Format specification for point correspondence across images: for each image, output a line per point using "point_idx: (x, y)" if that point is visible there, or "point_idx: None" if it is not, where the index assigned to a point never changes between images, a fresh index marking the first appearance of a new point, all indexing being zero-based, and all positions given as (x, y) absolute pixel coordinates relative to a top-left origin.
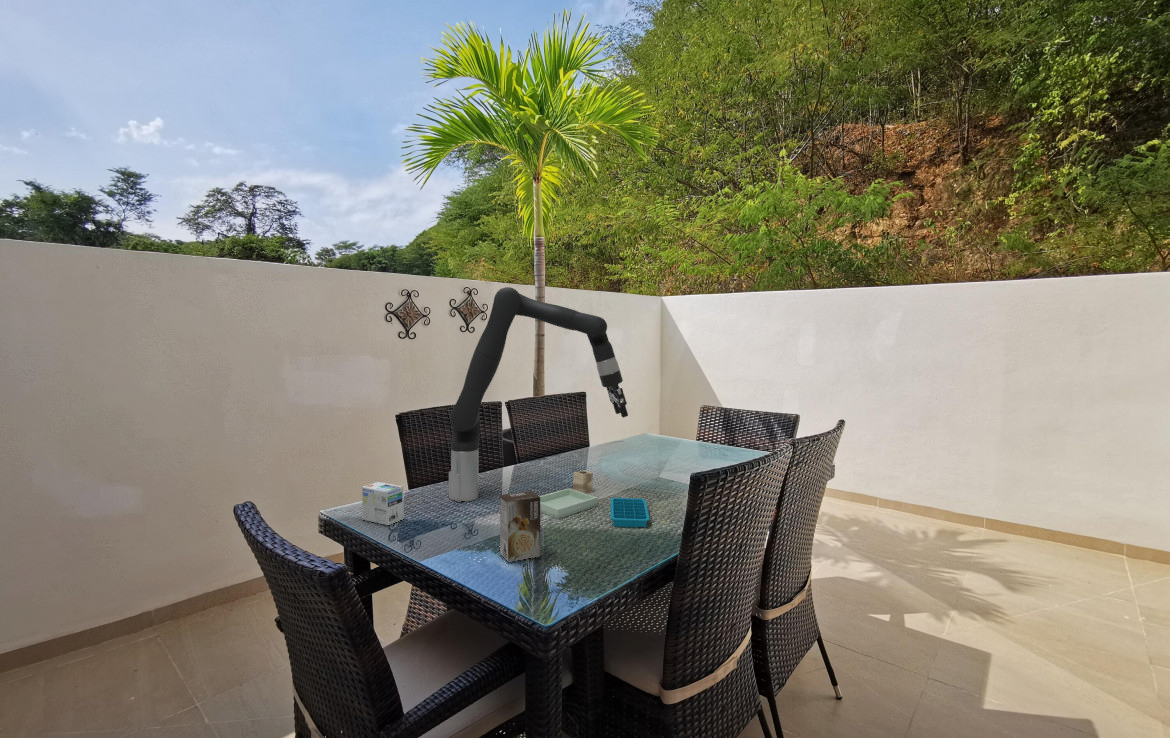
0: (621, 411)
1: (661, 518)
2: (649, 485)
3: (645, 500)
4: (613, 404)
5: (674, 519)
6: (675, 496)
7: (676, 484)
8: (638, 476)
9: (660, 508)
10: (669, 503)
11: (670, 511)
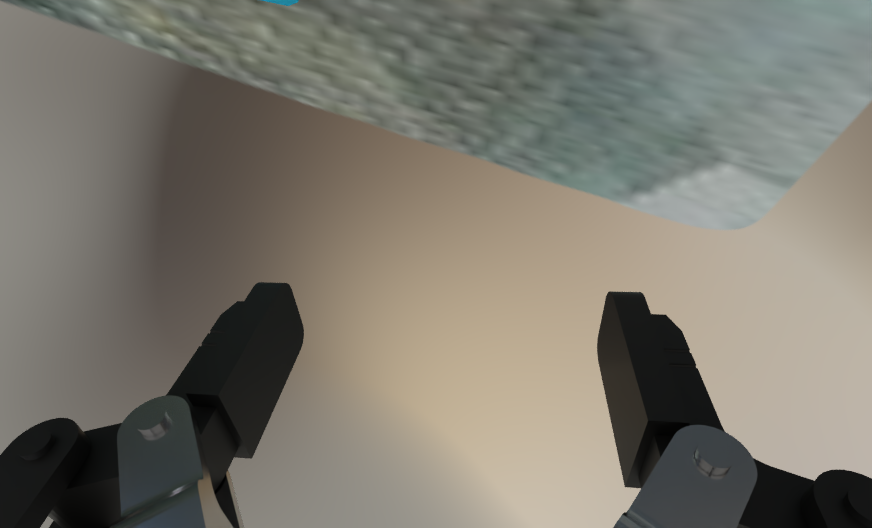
0: (223, 347)
1: (181, 19)
2: (615, 92)
3: (278, 2)
4: (678, 426)
5: (189, 63)
6: (448, 142)
7: (591, 186)
8: (786, 83)
9: (300, 49)
10: (366, 99)
11: (273, 75)
